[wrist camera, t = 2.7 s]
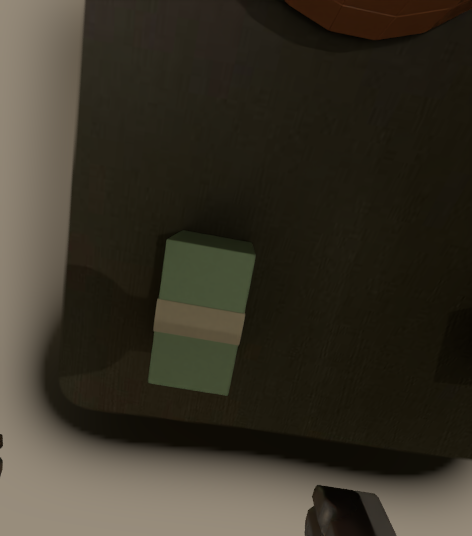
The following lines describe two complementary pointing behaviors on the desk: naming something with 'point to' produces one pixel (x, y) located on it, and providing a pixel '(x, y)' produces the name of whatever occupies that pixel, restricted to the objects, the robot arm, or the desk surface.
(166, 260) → the package
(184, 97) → the desk surface
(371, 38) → the bowl
